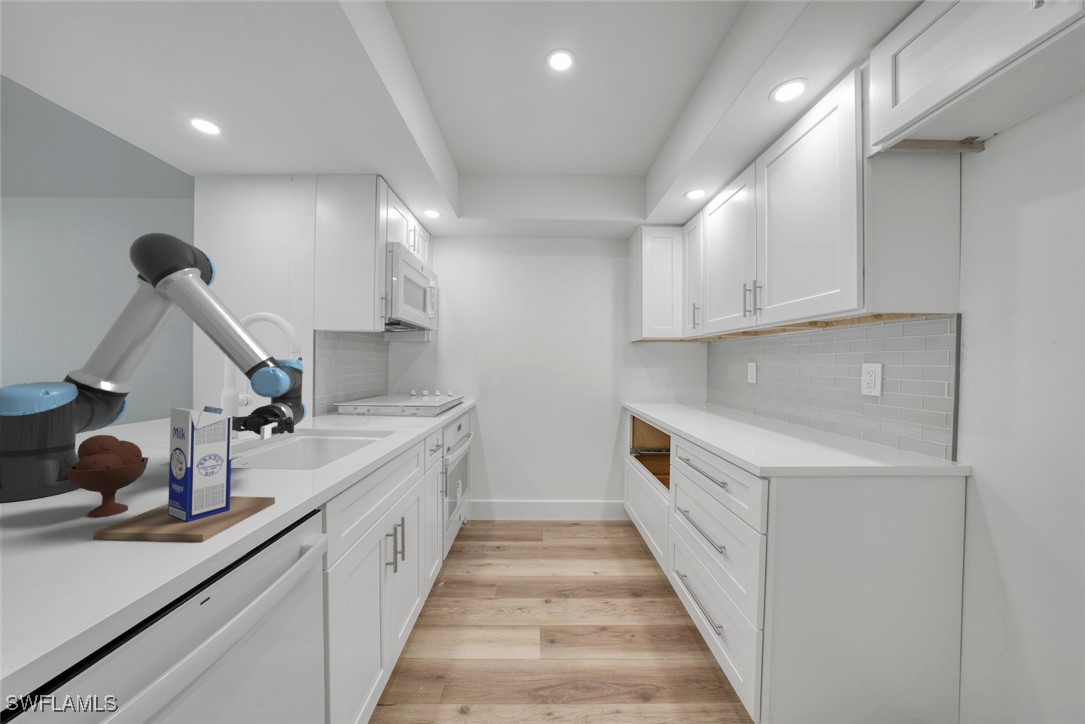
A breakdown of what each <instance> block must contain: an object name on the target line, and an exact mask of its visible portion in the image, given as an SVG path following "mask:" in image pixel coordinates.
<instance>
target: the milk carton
mask: <svg viewBox="0 0 1085 724" xmlns="http://www.w3.org/2000/svg"><path fill="white" fill-rule="evenodd" d="M223 410H224V409H223V408H219V407H214V406H208V405H205V406H204V408H203V411H202V410H195V409H189V408H177V407H176V408H175V407H170V423H169V428H170V429H169V431H170V432H169V433H170V434H169V435H170V436H169V467H168V469H169V471H168V473H169V474H168V475H169V476H168V503H167V504H168V515H169V516H172V517H174V518H177V519H179V520H182V521H184V522H190V521H194V520H198V519H201V518H205V517H208V516H212V515H215V514H219V513H222V512H226V511H230V496H231V481H232V476H231V475H232V445H233V444H232V442H233V441H232V439H233V430H232V416H233V415H226V414H222V413H223Z"/></svg>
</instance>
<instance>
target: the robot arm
mask: <svg viewBox="0 0 1085 724" xmlns="http://www.w3.org/2000/svg"><path fill="white" fill-rule="evenodd" d="M129 259H130V262H131V263H132V265H133V267H134V268H135V270H136V271H137V272H138V274H137V276H136V280H137V282H138V285H139V286H138V288H137V290H136V291H135V293H134V294H133V295H132V297H131V298H130V299H129V302H128V303H127V304H126V305H125V307H124V308H123V310H122V311H121V313H120V314H119V315H118V316H117V318H116V319H115V321H114V323H113V324H112V325H111V327H110V328H109V330H108V331H107V333H106V334H105V335H104V337H103V339H102V340H101V341H100V342H99V344H98V345H97V346H96V348H95V350H94V351H93V352H92V354H91V355H90V357H89V358H88V359H87V361H86V363H85V364H84V365H83V366H82V367H81V368H78V369H75V370H70V371H69V372H68V373H67V375H66V376H65V377H64V379H63V380H62V381H40V382H39V381H38V382H30V383H25V382H24V383H19V384H18V383H17V384H11V385H6V386H2V387H0V503H7V502H18V501H26V500H33V499H38V498H45V497H48V496H49V497H50V496H55V495H58V494H62V493H66V492H70V491H73V490H77V489H80V488H79V487H78V486H76V485H74V484H72V483H71V481H70V480H69V479H68V477H67V474H66V469H67V468H68V466H70V465H74V464H77V463H78V461H79V458H78V455H77V452H76V443H77V442H76V436H77V434H82V433H87V432H92V431H93V432H94V431H97V430H101V429H103V428H105V427H108V426H110V425H112V424H114V423H116V422H117V421H118V420H120V419H121V418H122V416H124V415H125V412H126V411H127V408H128V405H129V402H128V400H127V397H128V395H129V393H130V392H131V390H132V389H131V387H130V385H129V383H128V382H129V380H130V379H131V378H132V375H134V373H135V372H136V370H137V368H138V367H139V366H140V364H141V363H142V361H143V360H144V359H145V357H146V355H147V354H148V352H149V350H151V348H152V346H153V345H154V343H156V340H157V339H158V338H159V336H160V335H161V333H162V332H163V330H164V329H165V327H166V326H167V325H168V323H169V321H170V320H171V318H172V317H173V315H175V312H176V311H177V310H178V308H180V310H182V311H183V312H184V313H185V314H186V315H187V317H189V318H190V320H192V322H193V323H194V324H195V325H196V326H197V327H198V328H199V329H200V330H201V331H202V332H203V333H204V335H206V336H207V337H208V338H209V339H210V340H211V341H212V342H213V344H214V345H215V346H217V348H218V349H219V350H220V351H221V352H222V353H223V354H224V355H225V356H226V357H227V358H228V359H229V360H230V361H231V362H232V363H233V364H234V365H235V366H236V368H237V369H239V371H240V372H241V373H242V374H243V375H244V376H245V377H246V378H247V379H248V380H249V381H250V387H251V389H252V391H253V392H254V393H255V394H256V395H257V396H259V397H263V398H270V404H267V405H262V406H259V407H257V408H255V409H253V410H252V412H251V413H250V414H249V415H247V416H235V415H234V416H233V415H231V416H232V431H235V432H253V433H255V434H256V435H259V436H260V439H259V440H260V441H263V440H266V439H269V438H271V437H273V436H277V435H278V434H279V435H282V434H285V432H286V433H288V434H294V433H295V426H296V425H297V424H299V423H300V422H302V421H303V420H304V419H305V417H306V415H307V407H306V405H305V404H304V402H303V396H302V395H303V374H304V370H303V362H302V360H300V359H279V358H278V359H276V358H275V357H274V356H273V355H272V354H271V353H270V351H268V349H267V348H266V347H265V346H264V345H263V344H262V343H261V342H260V341H259V340H258V339H257V338H256V336H255V335H254V334H253V333H252V332H251V331H250V330H249V329H248V328H247V327H246V326H245V325H244V323H243V322H242V321H241V320H240V319H239V318H238V317H237V315H235V314H234V313H233V311H232V310H231V309H230V308H229V307H228V306H227V305H226V304H225V303H224V302H223V301H222V299H221V298H220V297H219V296H218V295H217V294H216V293H215V291H213V290H212V288H211V287H210V286H211V285H212V284H213V282H214V281H215V279H216V271H217V270H216V266H215V265H214V262H213V260H212V258H210V256H208V255H207V254H206V253H205V252H204V251H202V250H201V249H200V248H198V247H197V246H194V245H192V244H190V243H188V242H185V240H182V239H181V238H179V237H177V236H174V235H172V234H169V233H163V232H151V233H146V234H143V235H140V236H139V237H137V238H136V239H135V240H134V241H133V242H132V243H131V246H130V249H129Z"/></svg>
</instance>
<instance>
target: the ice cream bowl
mask: <svg viewBox="0 0 1085 724" xmlns="http://www.w3.org/2000/svg"><path fill="white" fill-rule="evenodd" d="M76 454H77V456H78V458H79V461H78V463H77V464H74V465H70V466H68V468H67V469H66V474H67V477H68V479H69V480H70V481H71V483H72V484H74V485H76V486H78V487H79V488H78V489H82V490H85V491H88V492H94V493H99V494H100V495H101V497H102V498H101V504H100V505H98V506H96V507H95V508H92V509H91V510H89V512H88V513H87V515H86V518H91V517H92V518H91V519H93V518H95V519H97V518H107V517H111V516H115V515H116V516H117V515H120V514H122V513H124V512H127V511H129V506H128V505H127V504H123V503H120V502H117V501H116V493H117V491H118V490H120V489H123V488H125V487H128V486H129V485H132V483H134V482H136V480H138V479H139V478H141V476H142V475H143V474H144V473H145V470H146V468H147V466H148V462H149V457H146V456H145V457H144V456H143V452H142V449H141V448H140V447H139V446H138V445H137V444H135V443H134V442H132V441H128V440H121V439H119V438H117V437H116V436H113V435H111V434H110V435H107V434H98V435H92V436H90V437H88V438H86V439H85V440H83V441H82V442H81V443H80V444H79V445H78V449H77V452H76Z"/></svg>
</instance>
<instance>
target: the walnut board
mask: <svg viewBox="0 0 1085 724" xmlns="http://www.w3.org/2000/svg"><path fill="white" fill-rule="evenodd" d="M275 503H276V497H275V496H273V497H271V496H231V495H230V511H226V512H222V513H219V514H215V515H212V516H208V517H205V518H201V519H198V520H194V521H190V522H184V521H182V520H179V519H177V518H174V517H172V516H169V515H168V503H165V504H163V505H160V506H157V507H154V508H152V509H150V510H147V511H145V512H142V513H139V514H136V515H134V516H131V517H128V518H125V519H123V520H121V521H118V522H116V523H113V524H110V525H107V526H105V527H103V528H100V529H97V530H95V531H93V535H92V536H93V537H92V539H93V540H110V541H111V540H113V541H114V540H118V541H120V540H121V541H124V540H125V541H157V542H158V541H160V542H164V541H166V542H198V543H199V542H201V543H202V542H205V541H207V540H208V539H211V538H212V537H214V536H216V535H218V534H220V533H222V532H224V531H225V530H228V529H229V528H231V527H233V526H235V525H237V524H239V523H240V522H242V521H245V520H246V519H248V518H250V517H252V516H253V515H255V514H258V513H260V512H261V511H263V510H265V509H267V508H268V507H270V506H273V505H274V504H275Z"/></svg>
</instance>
